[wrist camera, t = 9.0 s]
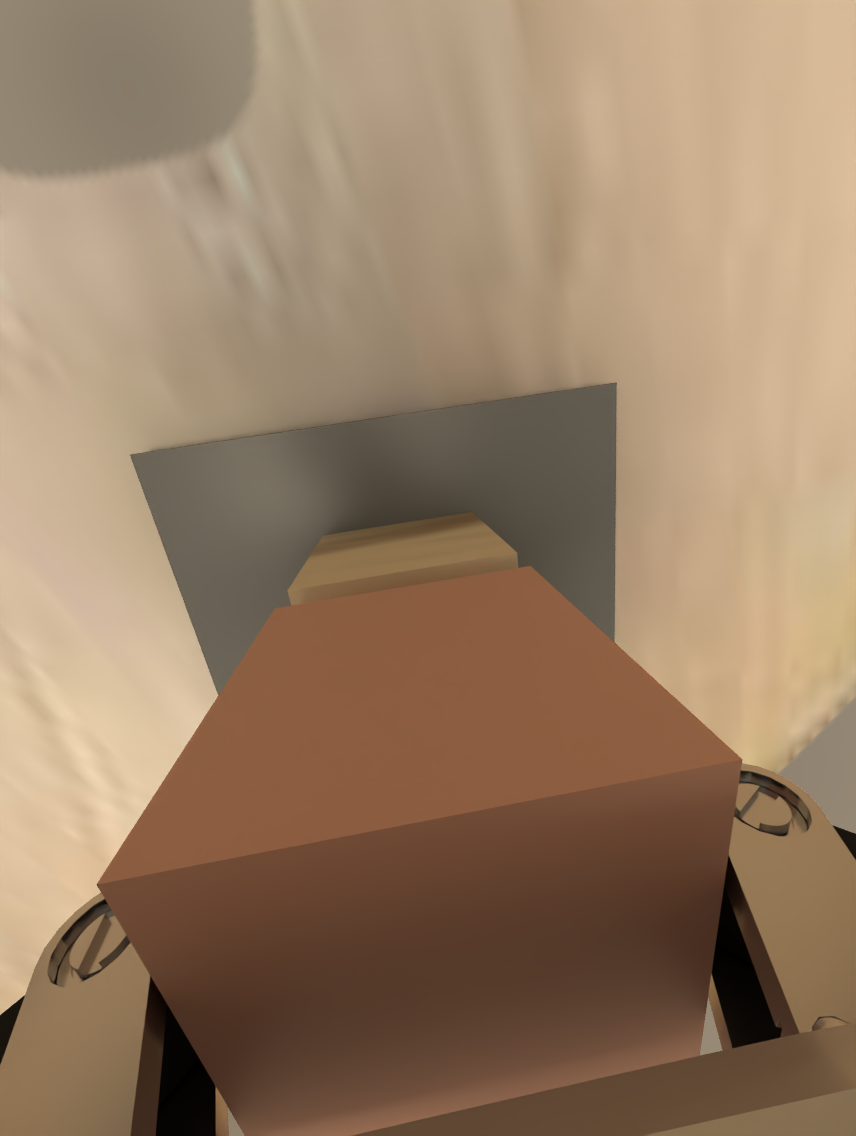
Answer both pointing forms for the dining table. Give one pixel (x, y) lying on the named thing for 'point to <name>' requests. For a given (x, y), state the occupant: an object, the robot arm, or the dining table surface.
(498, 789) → the terracotta block
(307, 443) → the plate
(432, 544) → the maple block
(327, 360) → the dining table surface
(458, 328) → the dining table surface
